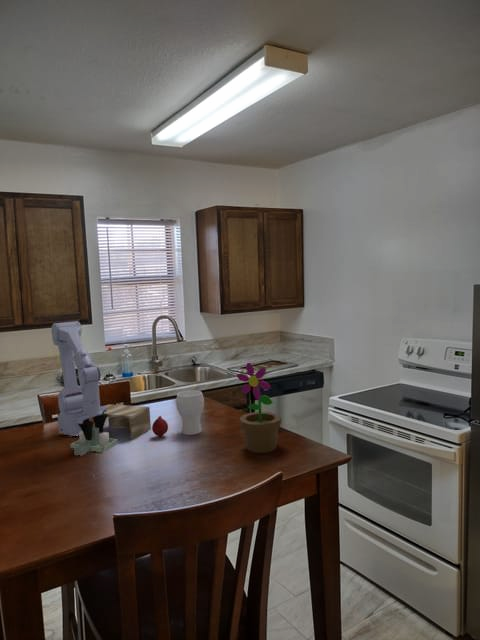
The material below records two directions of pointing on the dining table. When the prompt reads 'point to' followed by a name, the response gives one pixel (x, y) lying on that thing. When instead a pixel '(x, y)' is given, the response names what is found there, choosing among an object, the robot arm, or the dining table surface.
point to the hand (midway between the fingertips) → (94, 436)
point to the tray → (97, 448)
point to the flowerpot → (259, 415)
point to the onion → (160, 427)
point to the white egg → (103, 439)
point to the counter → (129, 418)
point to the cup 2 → (190, 410)
